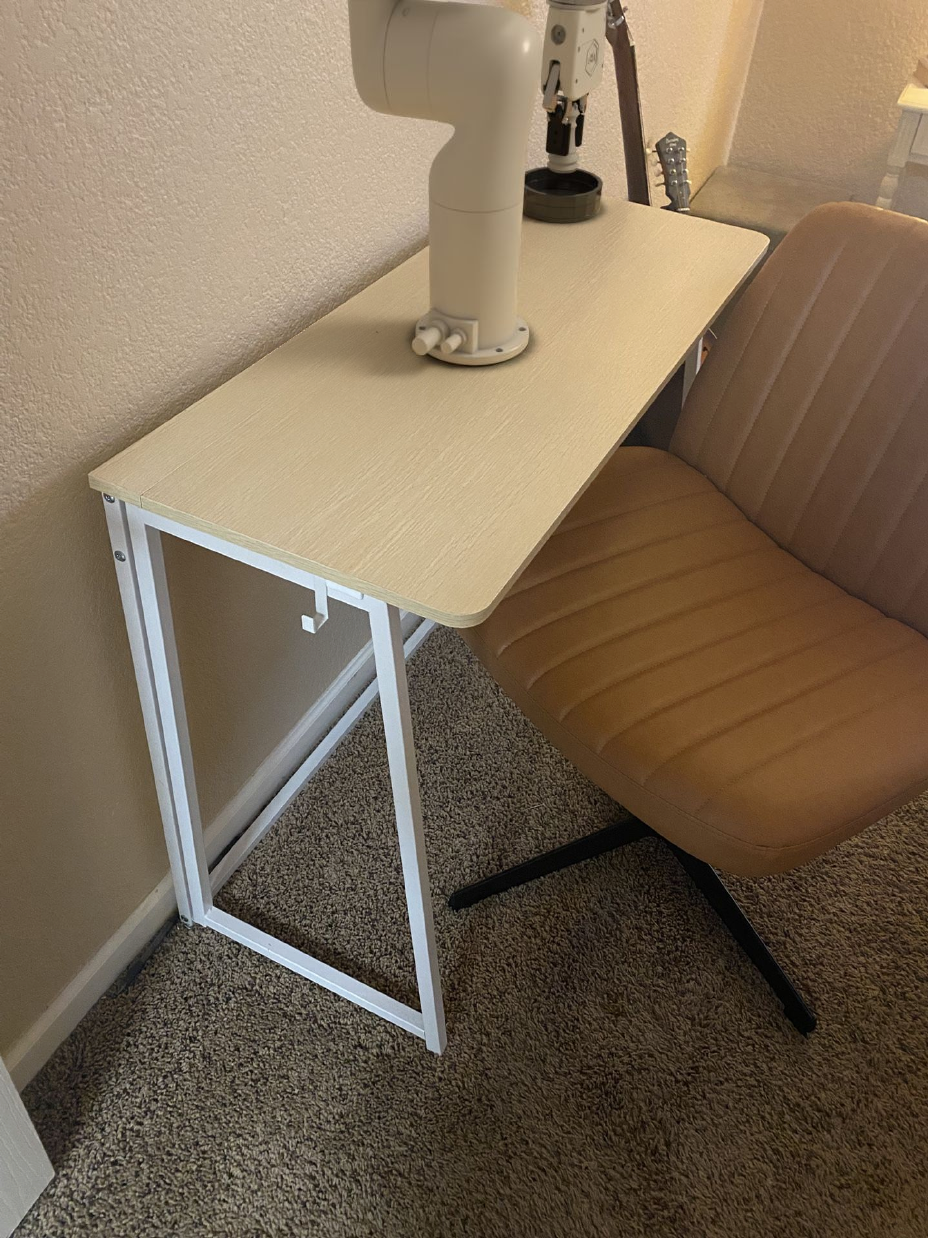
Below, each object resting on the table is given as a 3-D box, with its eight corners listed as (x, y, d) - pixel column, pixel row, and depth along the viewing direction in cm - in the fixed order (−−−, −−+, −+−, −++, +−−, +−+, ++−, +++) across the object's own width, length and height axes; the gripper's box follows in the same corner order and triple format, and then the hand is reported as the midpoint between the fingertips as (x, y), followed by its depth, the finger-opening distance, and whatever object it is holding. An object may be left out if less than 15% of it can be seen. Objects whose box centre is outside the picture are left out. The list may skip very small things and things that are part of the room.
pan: (579, 229, 127) (582, 202, 124) (503, 211, 131) (504, 185, 128) (612, 201, 134) (615, 175, 132) (539, 185, 138) (541, 160, 136)
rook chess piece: (552, 175, 127) (557, 110, 121) (541, 163, 130) (546, 100, 124) (583, 172, 128) (590, 108, 122) (572, 161, 131) (578, 98, 125)
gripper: (577, 6, 108) (563, 173, 121) (631, -20, 118) (612, 136, 131) (519, -2, 110) (511, 162, 123) (577, -27, 121) (564, 127, 134)
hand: (563, 147), depth 127 cm, fingers closed on rook chess piece, 3 cm apart
